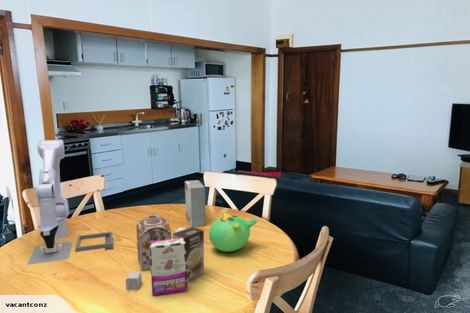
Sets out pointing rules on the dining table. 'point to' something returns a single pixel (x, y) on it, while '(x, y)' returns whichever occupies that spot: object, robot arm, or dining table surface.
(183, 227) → the seamed sphere
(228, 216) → the toy bird
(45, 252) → the block
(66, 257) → the panel
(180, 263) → the candy bar box
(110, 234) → the parts tray
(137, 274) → the usb wall charger
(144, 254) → the decorative jar
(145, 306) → the dining table surface
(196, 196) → the hard drive box
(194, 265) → the coffee box
